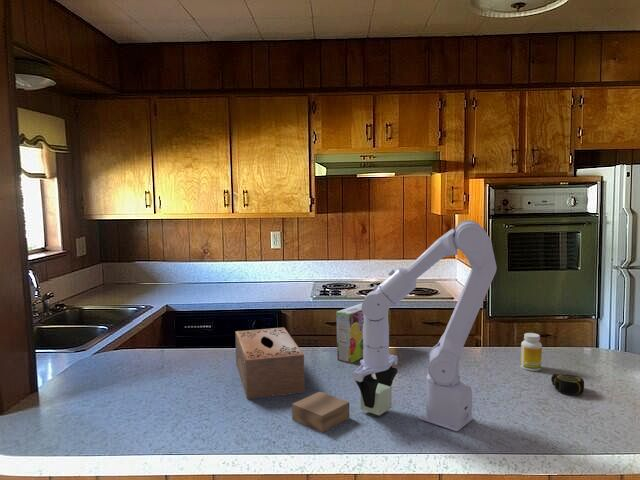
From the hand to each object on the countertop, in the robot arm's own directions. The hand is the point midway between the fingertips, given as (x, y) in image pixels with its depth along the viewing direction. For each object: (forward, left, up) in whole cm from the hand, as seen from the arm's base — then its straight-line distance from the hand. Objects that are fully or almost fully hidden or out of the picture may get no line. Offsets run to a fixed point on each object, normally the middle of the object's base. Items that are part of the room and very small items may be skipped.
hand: (376, 402), depth 116 cm
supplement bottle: (-17, -51, -3) cm, 54 cm away
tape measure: (-29, -41, -3) cm, 50 cm away
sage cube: (0, 0, -1) cm, 1 cm away
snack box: (+27, -32, -3) cm, 42 cm away
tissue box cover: (+35, +1, -3) cm, 35 cm away
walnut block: (+8, +11, -3) cm, 13 cm away
